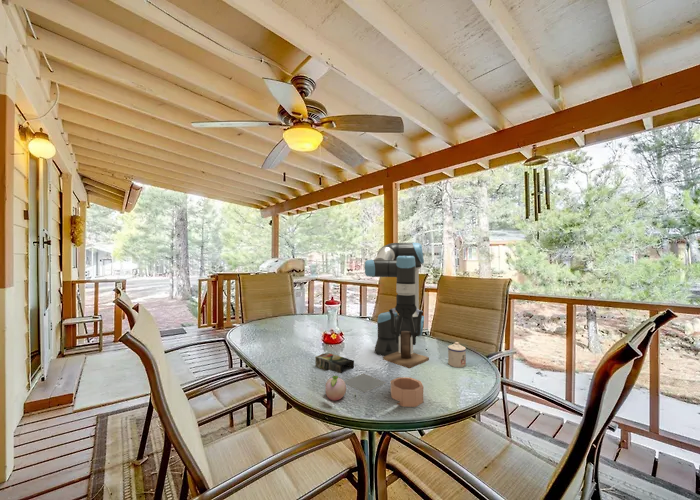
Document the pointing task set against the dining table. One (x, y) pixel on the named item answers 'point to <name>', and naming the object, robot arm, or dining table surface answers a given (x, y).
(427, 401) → the dining table surface
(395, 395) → the bowl
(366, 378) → the mat
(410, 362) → the lid
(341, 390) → the decorative fruit
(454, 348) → the teacup with lid
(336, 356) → the juice carton
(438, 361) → the dining table surface
